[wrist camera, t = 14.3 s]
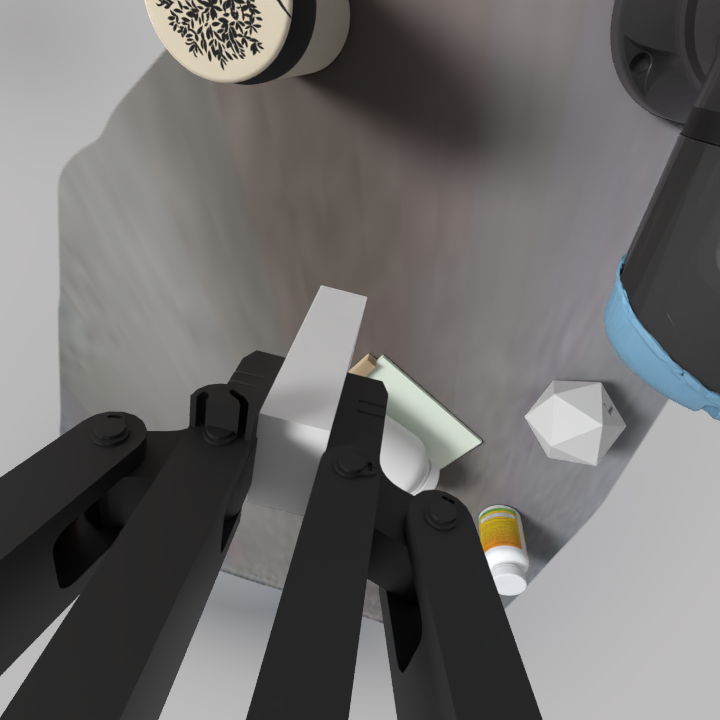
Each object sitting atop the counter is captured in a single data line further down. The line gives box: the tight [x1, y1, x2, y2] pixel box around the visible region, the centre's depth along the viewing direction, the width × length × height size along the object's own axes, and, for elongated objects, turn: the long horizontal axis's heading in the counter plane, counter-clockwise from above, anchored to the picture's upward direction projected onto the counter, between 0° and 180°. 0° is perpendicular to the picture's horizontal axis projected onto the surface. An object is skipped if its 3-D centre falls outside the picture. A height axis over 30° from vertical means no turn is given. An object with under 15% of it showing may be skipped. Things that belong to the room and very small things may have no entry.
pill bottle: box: [380, 415, 440, 496], centre depth 56 cm, size 8×8×15 cm
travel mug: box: [145, 0, 350, 85], centre depth 32 cm, size 8×8×18 cm
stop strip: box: [348, 353, 377, 377], centre depth 58 cm, size 1×16×2 cm, turn 138°
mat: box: [365, 355, 482, 470], centre depth 61 cm, size 16×18×1 cm
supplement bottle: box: [479, 505, 529, 595], centre depth 61 cm, size 5×5×10 cm
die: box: [525, 380, 626, 466], centre depth 51 cm, size 8×9×10 cm
